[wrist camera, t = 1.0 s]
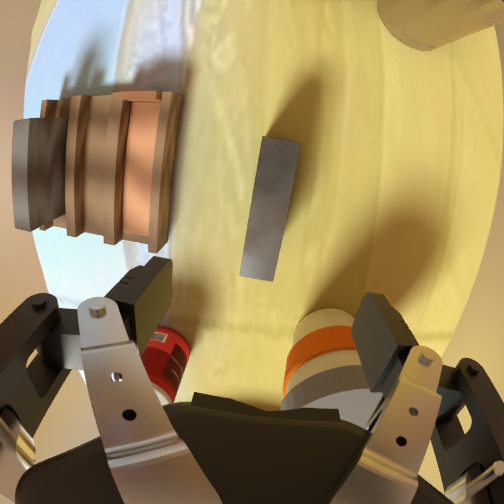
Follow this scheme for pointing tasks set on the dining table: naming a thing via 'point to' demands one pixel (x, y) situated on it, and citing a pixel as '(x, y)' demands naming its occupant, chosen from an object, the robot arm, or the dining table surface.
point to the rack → (98, 166)
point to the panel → (269, 207)
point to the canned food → (165, 362)
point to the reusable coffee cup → (327, 368)
